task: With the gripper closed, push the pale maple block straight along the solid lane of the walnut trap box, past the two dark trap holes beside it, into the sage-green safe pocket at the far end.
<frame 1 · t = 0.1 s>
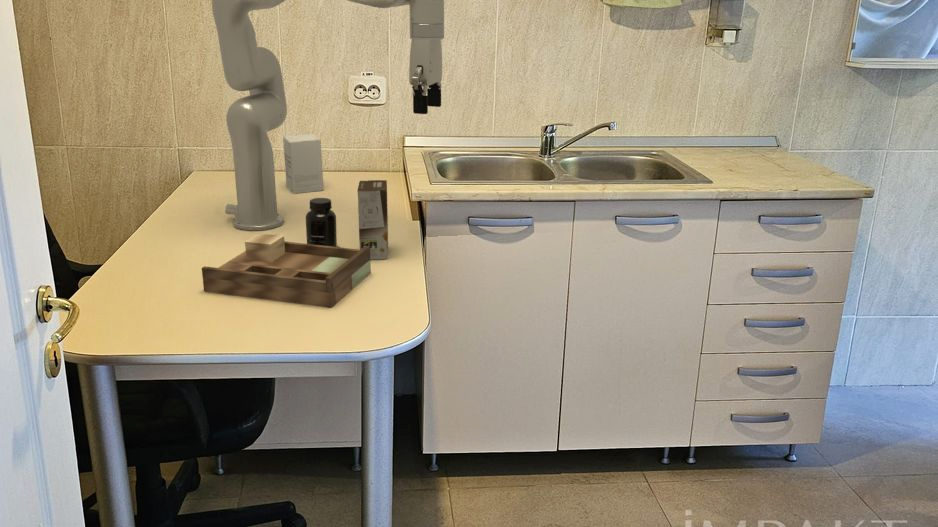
hand: (427, 109, 196), 31 cm above the table, tool pointing down, fingers open, 9 cm apart
supplement bottle: (322, 251, 199), on the table
supplement box: (304, 189, 250), on the table
maple block: (266, 256, 186), point 3 cm above the table, touching trap box
coffee box: (374, 254, 198), on the table
trap box: (289, 281, 180), on the table
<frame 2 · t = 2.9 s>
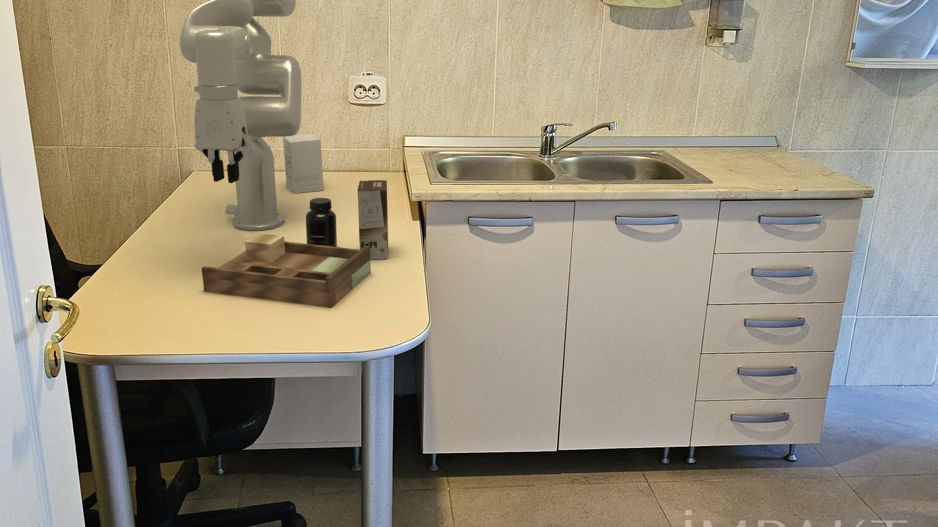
hand: (226, 180, 182), 19 cm above the table, tool pointing down, fingers closed
nothing on the table moved.
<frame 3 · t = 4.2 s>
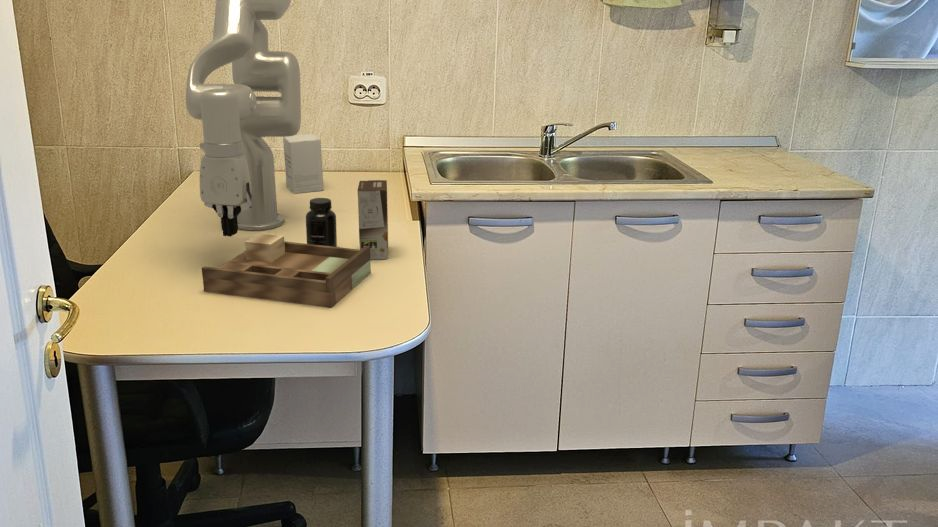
hand: (230, 234, 186), 7 cm above the table, tool pointing down, fingers closed
nothing on the table moved.
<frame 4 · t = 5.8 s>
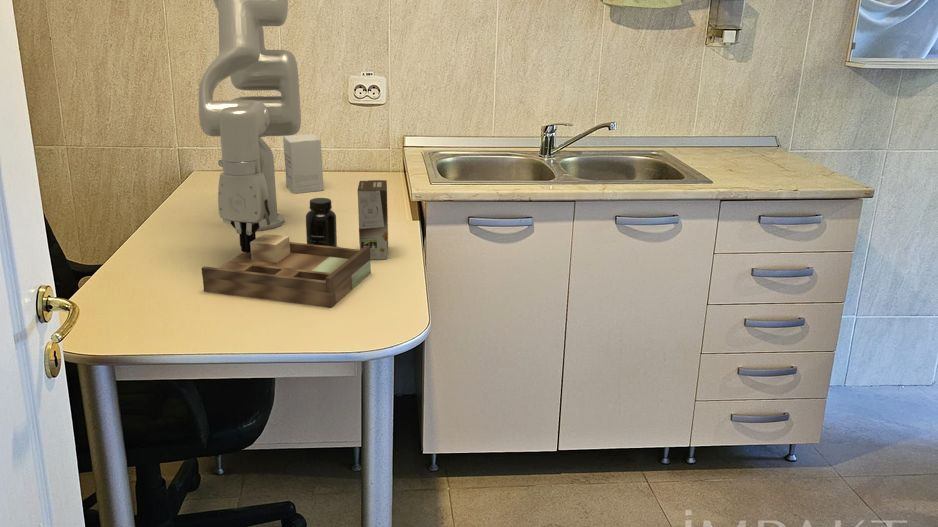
hand: (248, 250, 187), 4 cm above the table, tool pointing down, fingers closed
maple block: (271, 257, 186), point 3 cm above the table, touching gripper
everything else where it was.
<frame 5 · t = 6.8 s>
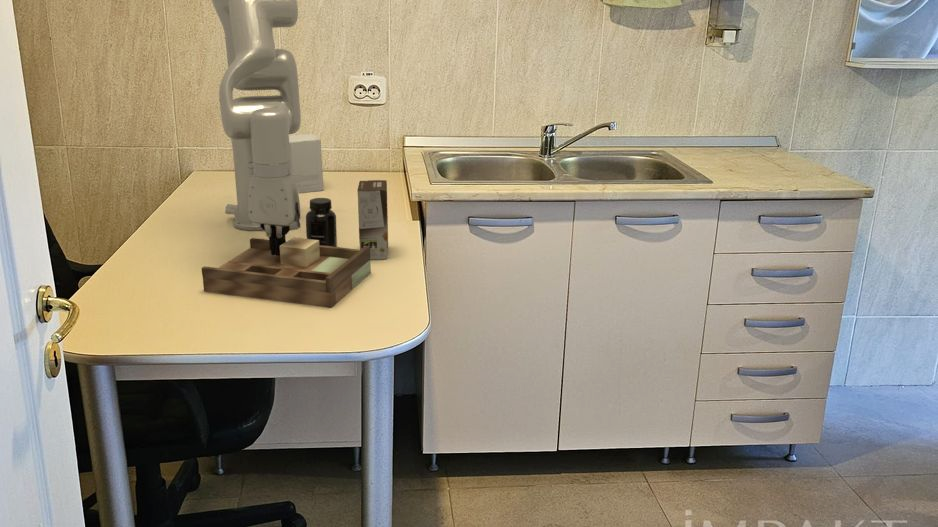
hand: (278, 253, 185), 4 cm above the table, tool pointing down, fingers closed
maple block: (300, 260, 184), point 3 cm above the table, touching gripper, trap box
everything else where it was.
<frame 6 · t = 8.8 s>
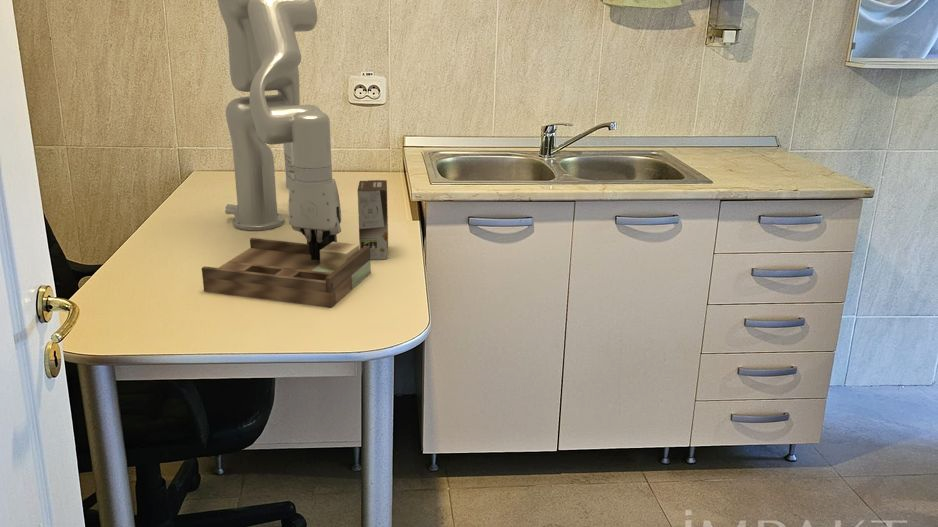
hand: (317, 258, 182), 4 cm above the table, tool pointing down, fingers closed
maple block: (340, 265, 181), point 3 cm above the table, touching gripper, trap box
everything else where it was.
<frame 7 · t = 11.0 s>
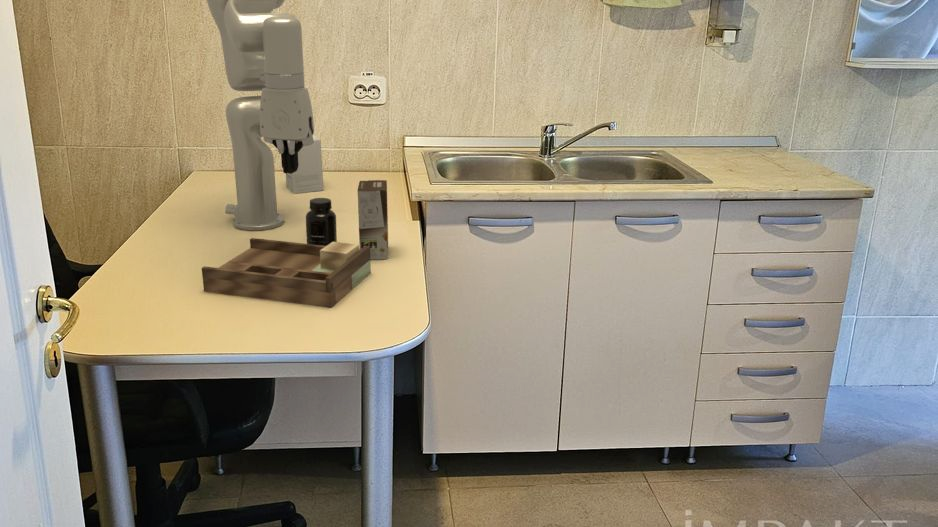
hand: (290, 171, 178), 22 cm above the table, tool pointing down, fingers closed
maple block: (340, 265, 181), point 3 cm above the table, touching trap box
everything else where it was.
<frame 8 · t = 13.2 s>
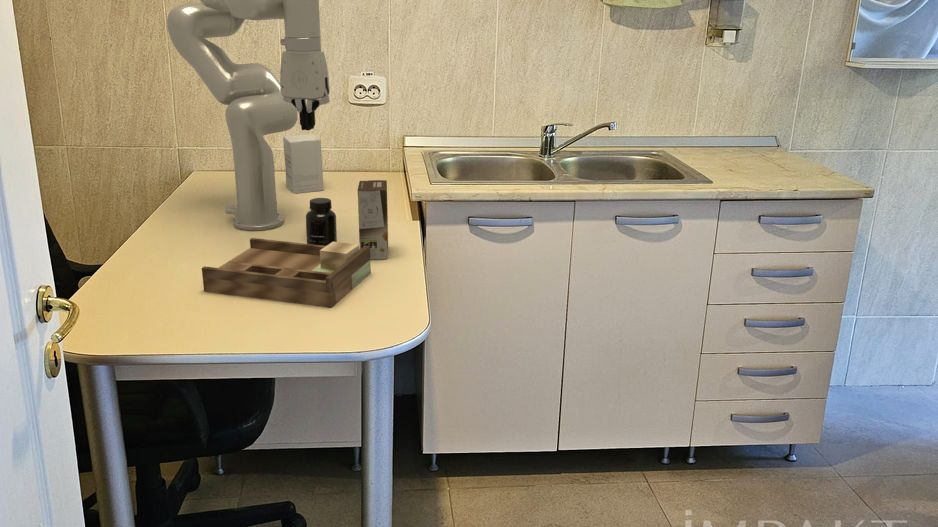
hand: (307, 129, 194), 27 cm above the table, tool pointing down, fingers closed
nothing on the table moved.
at the end: maple block inside the target area (0.6 cm from its centre), point 3.0 cm above the table; maple block tilted 0° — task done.
